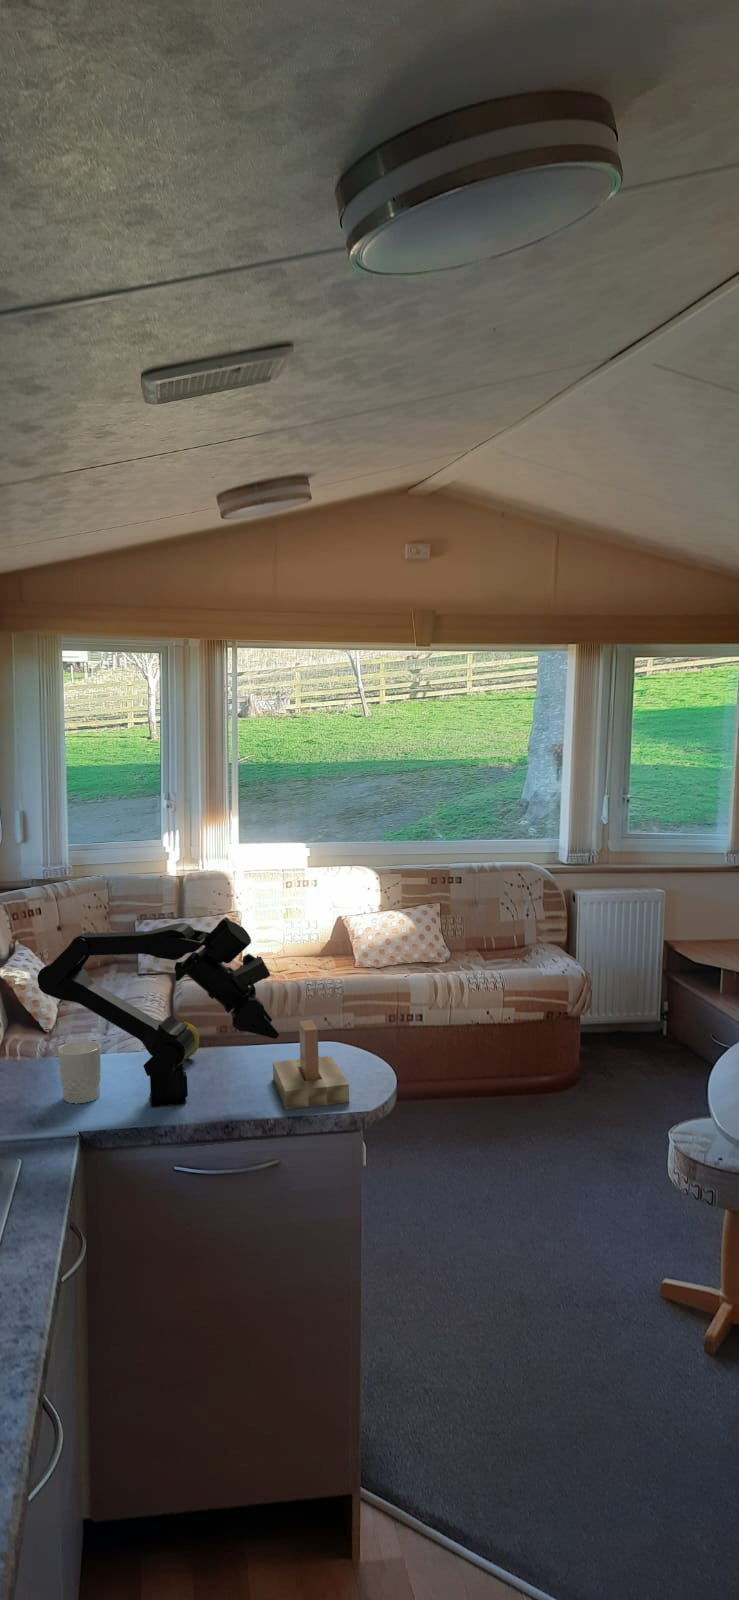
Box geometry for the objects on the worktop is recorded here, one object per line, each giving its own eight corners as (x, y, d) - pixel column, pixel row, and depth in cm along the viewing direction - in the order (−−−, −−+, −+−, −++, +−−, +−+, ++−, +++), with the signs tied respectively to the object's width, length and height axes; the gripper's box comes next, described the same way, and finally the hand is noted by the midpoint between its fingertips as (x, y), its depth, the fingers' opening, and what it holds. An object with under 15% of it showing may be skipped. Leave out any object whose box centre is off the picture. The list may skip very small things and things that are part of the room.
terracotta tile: (306, 1096, 197) (304, 1030, 196) (301, 1085, 203) (299, 1021, 202) (319, 1095, 198) (317, 1029, 196) (313, 1084, 204) (311, 1020, 202)
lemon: (202, 1054, 222) (201, 1018, 221) (195, 1063, 216) (194, 1026, 216) (177, 1054, 222) (176, 1018, 222) (170, 1063, 217) (168, 1026, 216)
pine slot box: (286, 1109, 191) (285, 1091, 191) (273, 1079, 207) (272, 1062, 206) (349, 1102, 194) (348, 1084, 194) (332, 1072, 210) (331, 1056, 209)
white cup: (110, 1096, 199) (108, 1046, 198) (74, 1109, 193) (72, 1057, 192) (88, 1086, 205) (86, 1037, 204) (52, 1098, 199) (50, 1048, 198)
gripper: (249, 957, 186) (311, 1011, 189) (237, 934, 204) (294, 984, 207) (206, 1003, 185) (269, 1057, 188) (198, 977, 203) (256, 1026, 206)
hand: (274, 1029), depth 197 cm, fingers open, 9 cm apart
